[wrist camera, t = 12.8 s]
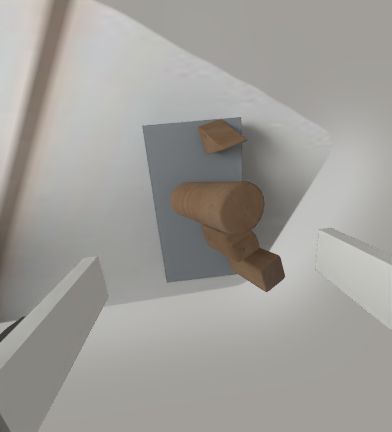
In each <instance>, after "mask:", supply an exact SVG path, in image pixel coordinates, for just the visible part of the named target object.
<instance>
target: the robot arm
mask: <svg viewBox="0 0 392 432" xmlns="http://www.w3.org/2000/svg"><path fill="white" fill-rule="evenodd" d="M315 270H317V271H318V272H319V273H320V274H322V275H323V276H324V277H325V278H327V279H328V280H329V281H330V282H332V283H333V284H334V285H335V286H337V287H338V288H339V289H340V290H342V291H343V292H344V293H345V294H347V295H348V296H349V297H350V298H352V299H353V300H354V301H355V302H357V303H358V304H359V305H360V306H362V307H363V308H364V309H365V310H367V311H368V312H369V313H370V314H371V315H373V316H374V317H375V318H376V319H378V320H379V321H380V322H382V323H383V324H384V325H386V327H388V328H389V329H390V330H391V331H392V255H391V254H388V253H386V252H384V251H382V250H379V249H377V248H375V247H373V246H370V245H368V244H366V243H364V242H361V241H359V240H357V239H355V238H352V237H350V236H348V235H346V234H343V233H341V232H339V231H337V230H334V229H332V228H327V229H319V234H318V244H317V255H316V266H315ZM107 298H108V293H107V289H106V285H105V281H104V278H103V274H102V270H101V266H100V262H99V258H98V256H93V257H85V258H83V259H82V260H81V261H80V262H79V263H78V264H77V265H76V266H75V267H74V268H73V269H72V270H71V271H70V272H69V273H68V274H67V275H66V276H65V277H64V278H63V279H62V280H61V281H60V282H59V284H58V285H57V286H56V287H55V288H54V289H53V290H52V291H51V292H50V293H49V294H48V295H47V296H46V297H45V298H44V299H43V300H42V301H41V302H40V303H39V304H38V305H37V306H36V307H35V308H34V309H33V310H32V311H31V312H30V313H29V314H28V315H27V316H25V317H22V318H21V319H19V320H18V321H16V322H15V323H14V324H12V325H11V326H9V327H8V328H7V329H5V330H4V331H3V332H2V333H1V334H0V432H38V430H39V428H40V426H41V424H42V423H43V421H44V419H45V417H46V415H47V413H48V411H49V409H50V407H51V405H52V404H53V402H54V400H55V398H56V396H57V394H58V392H59V390H60V388H61V386H62V384H63V382H64V381H65V379H66V377H67V375H68V373H69V371H70V369H71V367H72V365H73V363H74V361H75V360H76V358H77V356H78V354H79V352H80V350H81V348H82V346H83V344H84V342H85V340H86V338H87V336H88V335H89V333H90V331H91V329H92V327H93V325H94V323H95V321H96V319H97V317H98V315H99V314H100V312H101V310H102V308H103V306H104V304H105V302H106V300H107Z"/></svg>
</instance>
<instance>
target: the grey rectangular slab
mask: <svg viewBox="0 0 392 432" xmlns="http://www.w3.org/2000/svg"><path fill="white" fill-rule="evenodd" d="M216 120H219V119H215V120H203V121H192V122H181V123H170V124H158V125H147V126H142V127H143V134H144V140H145V147H146V153H147V159H148V166H149V172H150V178H151V185H152V191H153V198H154V204H155V210H156V217H157V223H158V229H159V236H160V242H161V249H162V255H163V261H164V268H165V274H166V280H167V282H175V281H183V280H192V279H200V278H208V277H217V276H225V275H233V274H237V273H236V272H234V271H233V270H232V268H231V266H230V263H229V260H228V257H227V256H225V255H224V254H222V253H220V252H218V251H216V250H215V249H213V248H211V247H209V246H208V244H207V242H206V239H205V236H204V234H203V231H202V229H201V225H203V224H202V223H200V222H197V221H194V220H192V219H189V218H187V217H184V216H181V215H179V214H177V213H176V212H174V210H173V209H172V207H171V203H170V199H171V195H172V192H173V191H174V189H175V188H176V187H177V186H179V185H180V184H182V183H186V182H243V176H242V143H240V144H237V145H235V146H233V147H230V148H228V149H225V150H222V151H219V152H215V153H211V154H206V152H205V149H204V146H203V143H202V139H201V136H200V133H199V130H198V126H201V125H204V124H207V123H210V122H213V121H216ZM221 120H222V121H223V122H225V123H226V124H227V125H229V126H230V127H231V128H233V129H234V130H235V131H237V132H238V133H239V134H241V117H237V118H226V119H221ZM241 135H242V134H241Z"/></svg>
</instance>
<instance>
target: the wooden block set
mask: <svg viewBox="0 0 392 432" xmlns="http://www.w3.org/2000/svg"><path fill="white" fill-rule="evenodd" d="M198 130H199V133H200V136H201V139H202V143H203V146H204V149H205V152H206V154H211V153H215V152H219V151H222V150H225V149H228V148H230V147H233V146H235V145H237V144H240V143H242V142H244V141H247V139H246V138H245V137H243V136H242V135H241V134H239V133H238V132H237V131H235V130H234V129H233V128H231V127H230V126H229V125H227V124H226V123H225V122H223V121H222V120H221V119H219V120H216V121H213V122H210V123H207V124H204V125H201V126H198ZM170 203H171V207H172V209H173V210H174V212H176V213H177V214H179V215H181V216H184V217H187V218H189V219H192V220H194V221H197V222H200V223H202V224H203V225H201V229H202V231H203V234H204V236H205V239H206V242H207V244H208V246H209V247H211V248H213V249H215V250H216V251H218V252H220V253H222V254H224V255H225V256H227V257H228V260H229V263H230V266H231V268H232V270H233V271H234V272H236V273H237V274H239V275H240V276H242V277H244V278H245V279H247V280H248V281H250V282H251V283H253V284H255V285H256V286H257V287H259V288H260V289H262V290H264V291H265V292H268V291H269V290H271V289H272V288H273V287H274V286H275V285H277V284H278V283H279V282H280V281H282V280H283V279H284V277H285V274H284V270H283V266H282V262H281V258H280V257H279V256H278V255H276V254H274V253H271V252H269V251H266V250H264V249H261V248H259V244H258V240H257V237H256V236H255V234H254V233H253V232H252V231H251V229H252V228H254V227H255V226H256V224H257V223H258V222H259V220H260V218H261V216H262V213H263V209H264V197H263V195H262V192H261V190H260V189H259V188H258V187H257V186H256V185H254V184H252V183H250V182H186V183H182V184H180V185H179V186H177V187H176V188H175V189H174V191H173V192H172V195H171V199H170Z"/></svg>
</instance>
